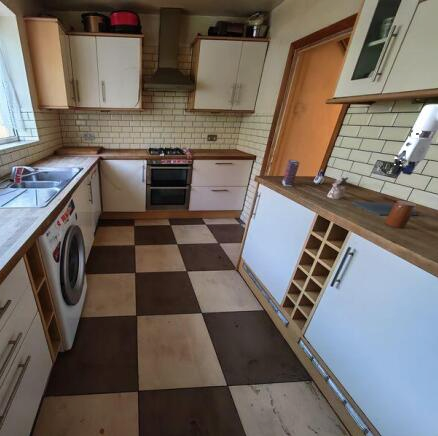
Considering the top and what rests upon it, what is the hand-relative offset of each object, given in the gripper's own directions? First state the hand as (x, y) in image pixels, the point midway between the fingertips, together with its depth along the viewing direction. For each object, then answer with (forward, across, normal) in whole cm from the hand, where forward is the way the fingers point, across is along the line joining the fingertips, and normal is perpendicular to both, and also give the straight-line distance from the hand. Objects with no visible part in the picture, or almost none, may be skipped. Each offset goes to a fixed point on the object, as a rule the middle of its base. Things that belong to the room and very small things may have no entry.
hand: (400, 174), depth 109 cm
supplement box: (+19, -18, +45) cm, 52 cm away
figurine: (+19, -8, +19) cm, 28 cm away
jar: (+19, -16, -15) cm, 29 cm away
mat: (+19, 0, 0) cm, 19 cm away
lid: (-3, 0, 0) cm, 3 cm away
